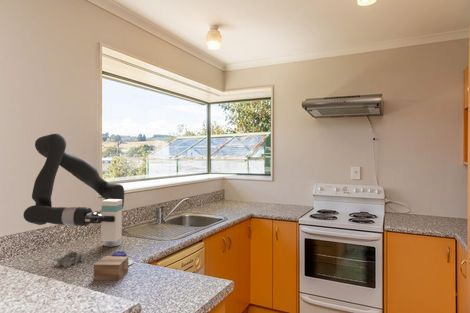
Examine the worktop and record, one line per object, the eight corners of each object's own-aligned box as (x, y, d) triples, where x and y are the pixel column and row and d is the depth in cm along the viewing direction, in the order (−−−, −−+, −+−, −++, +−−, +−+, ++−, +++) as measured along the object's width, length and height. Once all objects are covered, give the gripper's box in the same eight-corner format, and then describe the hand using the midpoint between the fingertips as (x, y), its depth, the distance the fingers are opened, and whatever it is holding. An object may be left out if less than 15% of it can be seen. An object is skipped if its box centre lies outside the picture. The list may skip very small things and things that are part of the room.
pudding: (98, 266, 137) (98, 254, 137) (119, 258, 148) (119, 247, 148) (118, 271, 132) (118, 259, 132) (138, 262, 142) (138, 251, 142)
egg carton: (73, 258, 147) (73, 249, 147) (86, 260, 144) (86, 251, 144) (53, 265, 137) (53, 256, 137) (66, 268, 134) (66, 258, 134)
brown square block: (104, 270, 132) (104, 256, 132) (128, 270, 132) (128, 256, 132) (93, 279, 122) (93, 264, 122) (118, 280, 122) (119, 265, 122)
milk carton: (107, 237, 130) (108, 198, 130) (121, 237, 130) (122, 199, 129) (100, 241, 124) (101, 201, 124) (115, 241, 123) (116, 201, 123)
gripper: (67, 210, 120) (110, 211, 119) (86, 204, 134) (124, 205, 134) (67, 229, 120) (110, 230, 119) (85, 221, 134) (124, 222, 134)
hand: (117, 217), depth 126 cm, fingers closed on milk carton, 6 cm apart
